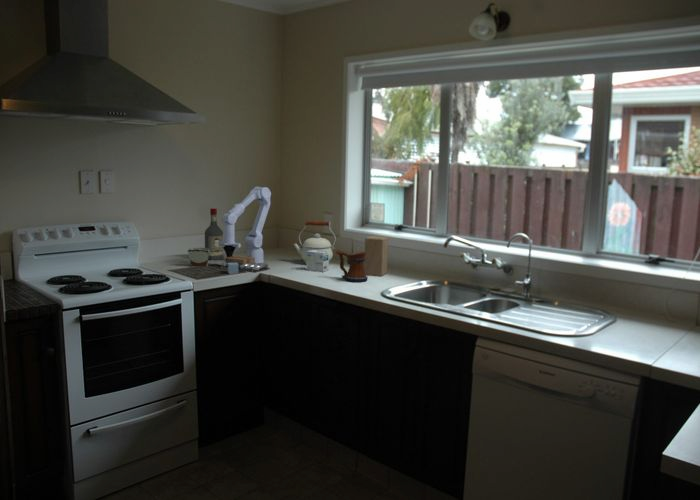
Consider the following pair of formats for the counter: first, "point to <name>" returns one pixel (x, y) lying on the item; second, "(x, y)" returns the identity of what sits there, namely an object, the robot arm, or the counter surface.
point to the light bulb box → (318, 260)
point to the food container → (198, 257)
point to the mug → (353, 266)
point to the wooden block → (376, 255)
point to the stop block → (233, 268)
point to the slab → (240, 259)
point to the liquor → (214, 238)
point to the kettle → (315, 242)
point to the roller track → (249, 267)
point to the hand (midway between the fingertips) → (229, 259)
